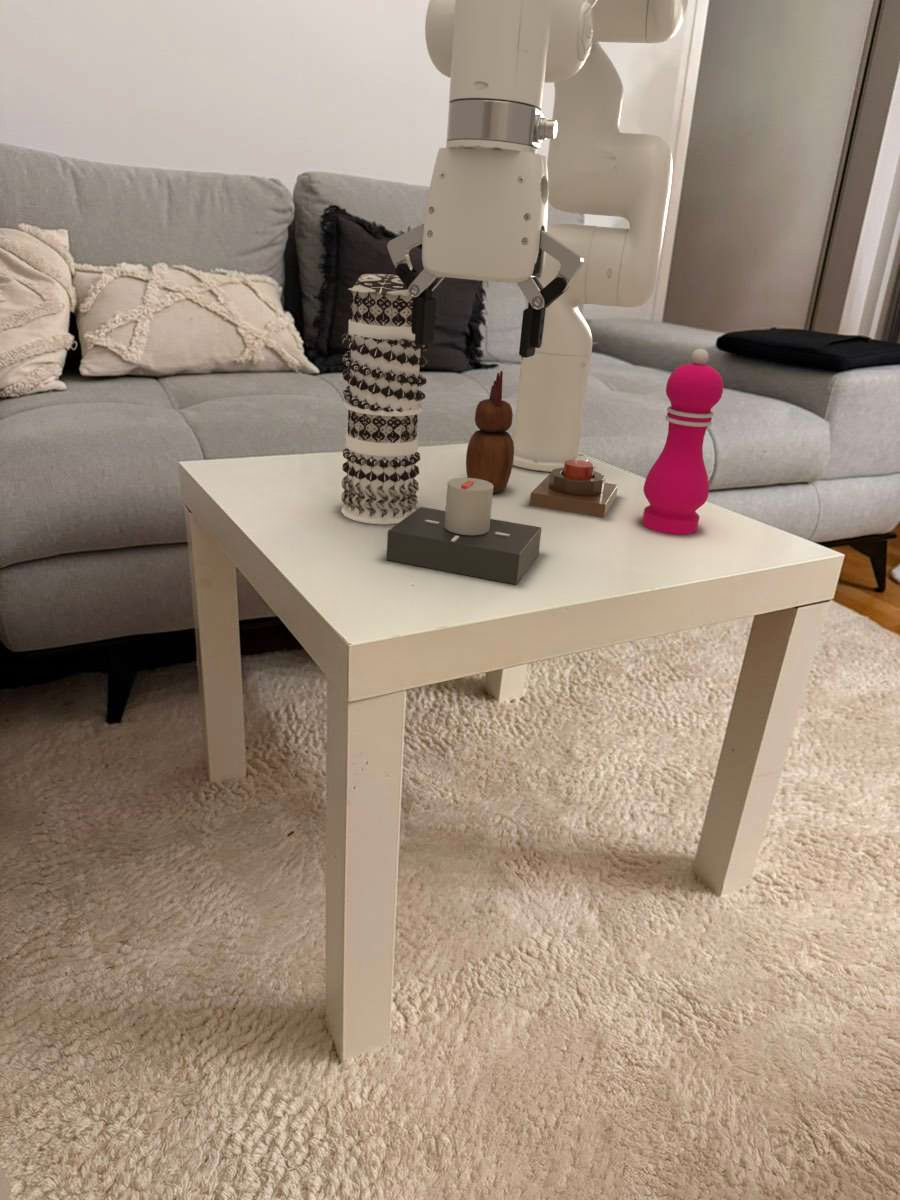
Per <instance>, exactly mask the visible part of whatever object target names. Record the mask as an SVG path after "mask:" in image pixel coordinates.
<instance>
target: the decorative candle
mask: <svg viewBox="0 0 900 1200" xmlns="http://www.w3.org/2000/svg"><path fill="white" fill-rule="evenodd" d="M348 290H349V291H351V293H350V319H348V327H347V328H348V330H347V331H345V333H344V334H343V335H342V336H341V340H342V341H341V343H342V344H343V345H344V346H346V347H347V349H349V350H348V351H346V352H345V353H344V355H342V357H341V359H342V362H343V365H344V366H345V367H346V368H345V369H343V371H342V379H343V380H344V381H345V382H347V384H348V385H347V386H346V387H345V389H344V390H343V392H342V395H343V398H344V400H345V401H344V402H343V407H344V408H345V409H346V410H347V431H346V433H345V448H344V449H343V450H342V457H343V458H344V459H345V460H347V461H345V462H344V463H342V471H343V472H344V473H346V475H345V476H343V478H342V479H341V487H342V489H343V491H342V493H341V501H342V503H343V505H342V507H341V510H340V511H341V513H342V515H343V516H344V517H345V518H348V519H350V520H353V521H355V522H360V523H364V524H372V525H393V524H398V523H399V522H401V521H402V520H403V519H405V518H406V517H408V516H409V515H410V514H412V513H413V512H414V511H416V510H417V509H416V506H417V505H418V503H419V501H418V496H417V492H418V491H419V489H420V487H419V482H418V480H416V477H417V476H418V475H419V474H420V468H419V466H418V465H416V464H417V463H419V461H420V460H421V454H420V452H419V451H418V449H419V436H418V421H419V419H418V416H419V414H421V413H423V407H424V406H423V405H422V404H421V403H420V402H421V401H423V400H425V398H426V393H424V392H423V391H422V390H421V389H419V388H421V387H423V386H425V385H426V384H427V381H428V380H427V379H426V377H424V376H423V375H422V374H421V373H420V369H423V368H424V367H425V366H428V365H429V363H430V360H429V359H428V358H427V357H426V356H425V355H424V354H422V353H425V352H427V351H429V350H430V349H431V344H426V345H416V344H415V334H412V330H411V327H412V310H413V297H412V296H410V294H409V292H408V289H407V287H406V286H405V285H404V284H403V282H402V281H401V280H400V278H399V277H398V276H397V274H386V273H363V274H361V275H360V276H359V277H358V278H357V280H356V281H355V284H354V285H353V287H349V288H348Z"/></svg>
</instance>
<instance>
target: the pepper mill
mask: <svg viewBox="0 0 900 1200" xmlns="http://www.w3.org/2000/svg"><path fill="white" fill-rule="evenodd" d="M709 357H710V355H709V353H708V351H707V350H706V349H704V348H698V349H696V350H694V351H693V352H692V354H691V362H692V363H691V362H690V363H686V364H683V365H680V366H678V367H676V368H675V369H674V370H673V371H672V372H671V374H670V375H669V377H668V379H667V381H666V386H665V393H666V397H667V398H668V400H669V402H670V406H668V407H667V408H666V411H667V413H666V415H665V420H666V421H667V422H668V429H667V436H666V439H665V444H664V446H663V448H662V451H661V453H660V454H659V456H658V458H657V459H656V460H655V462H654V463H653V465H652V466H651V468H650V469H649V471H648V472H647V475H646V477H645V481H644V485H643V489H642V490H643V494H644V497H645V499H646V501H648V503H649V505H647V506H645V507H644V509H643V514H642V515H643V516H642V520H641V521H642V525H643V526H644V527H645V528H647V529H649V530H652V531H654V532H658V533H663V534H668V535H675V536H676V535H678V536H685V535H692V534H694V533H696V532H697V530H698V527H699V521H700V515H699V514H698V512H697V510H698V509H700V508H701V507H703V505H705V503H706V502H707V501H708V498H709V490H710V483H709V475H708V473H707V472H708V471H707V469H706V465H705V461H704V450H703V449H704V448H703V446H704V441H705V440H704V439H705V435H706V432H707V429H708V427H710V426H711V425H712V424H713V421H712V419H713V416H714V412H713V411H711V410H712V409H713V408H714V406H716V405H717V404H718V403H719V401H720V400H721V399H722V396H723V394H724V393H723V392H724V381H723V378H722V376H721V373H720V372H719V371H718V370H716V369H715V368H714V367H713V366H710V365H707V362H708V361H709V359H710V358H709Z"/></svg>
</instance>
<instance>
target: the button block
mask: <svg viewBox="0 0 900 1200" xmlns="http://www.w3.org/2000/svg"><path fill="white" fill-rule="evenodd" d="M563 470H564V467H563V468H557V469H553V470H552V471H551V472H549V473H550V474H548V475H547V476H546V477H545V478H544V479H543V480H542V481H541V482H540V483H539V484H538V485H537V486H536V487H535V488H534V489H533V490H532V491H531V492H530V498H529V499H530V500H529V506H530V507H534V508H542V509H548V510H553V511H559V512H566V513H572V514H579V515H584V516H589V517H596V518H602V519H604V518H605V516H607V513H608V512H609V510H610V509H611V506H612V505H613V504H614V502H615V500H616V498H617V496H618V488H619V485H618V484H614V483H608V482H606V476H605V475H604V474H602V473H601V472H598V471H595V470H593V477H592V478H591V479H576V478H570V477H567V476H564V475H563Z"/></svg>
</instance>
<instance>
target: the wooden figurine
mask: <svg viewBox="0 0 900 1200" xmlns="http://www.w3.org/2000/svg"><path fill="white" fill-rule="evenodd" d="M503 375H504V373H503V370H500V372H497V373H496V379H495V380H493V385H491V388H490V393H489V397H488V398H486V399H482V400H480V401H479V402H478V404H477V405H476V408H475V413H474V424H475V426H476V427H477V429H478V430H476V431H474V433H473V434H472V435H471V437H470V439H469V441H468V444H467V449H466V455H465V456H466V457H465V472H466V478H475V479H481V480H485V481H488V482H490V483H492V484H493V494H496V493H500V492H502V491H503V490H505V489H506V488H507V486H508V483H509V481H510V478H511V474H512V470H513V466H514V465H513V459H514V444H513V437H512V435H511V434H510V433H509V432H507V431H508V430H510V429H511V427H512V425H513V417H514V414H513V408H512V405H511V404H510V403H509V402H507V401H506V400H503Z"/></svg>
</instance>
